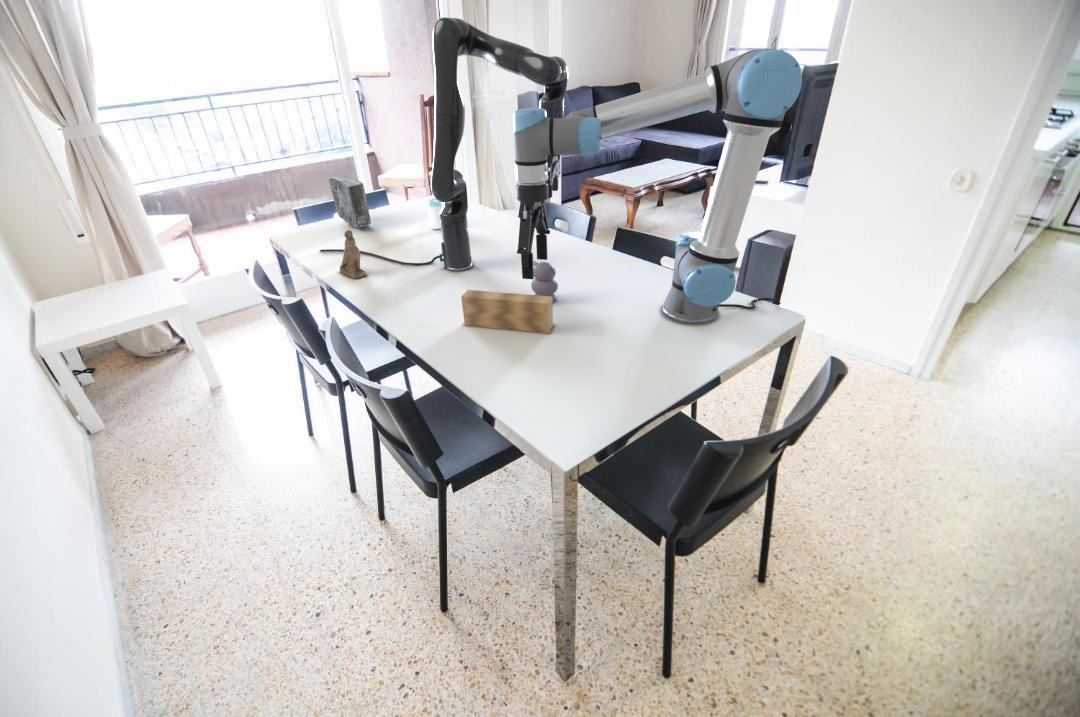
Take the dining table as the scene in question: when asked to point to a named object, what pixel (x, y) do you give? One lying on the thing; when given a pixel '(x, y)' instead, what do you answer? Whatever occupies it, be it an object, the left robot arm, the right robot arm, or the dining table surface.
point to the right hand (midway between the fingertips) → (535, 268)
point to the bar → (508, 311)
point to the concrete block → (350, 200)
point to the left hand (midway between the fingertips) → (551, 194)
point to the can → (434, 213)
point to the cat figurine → (544, 279)
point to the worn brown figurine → (351, 258)
